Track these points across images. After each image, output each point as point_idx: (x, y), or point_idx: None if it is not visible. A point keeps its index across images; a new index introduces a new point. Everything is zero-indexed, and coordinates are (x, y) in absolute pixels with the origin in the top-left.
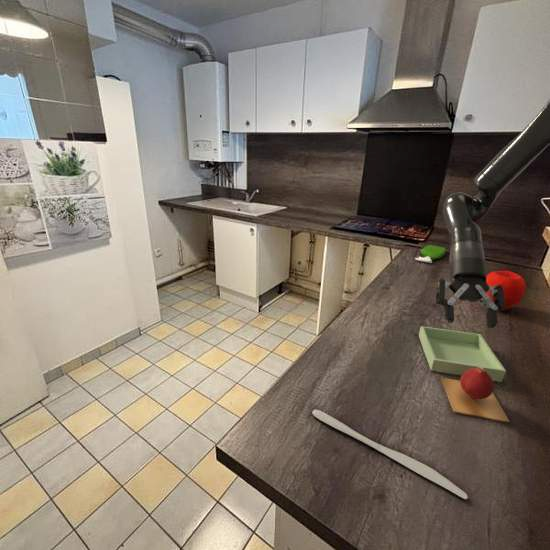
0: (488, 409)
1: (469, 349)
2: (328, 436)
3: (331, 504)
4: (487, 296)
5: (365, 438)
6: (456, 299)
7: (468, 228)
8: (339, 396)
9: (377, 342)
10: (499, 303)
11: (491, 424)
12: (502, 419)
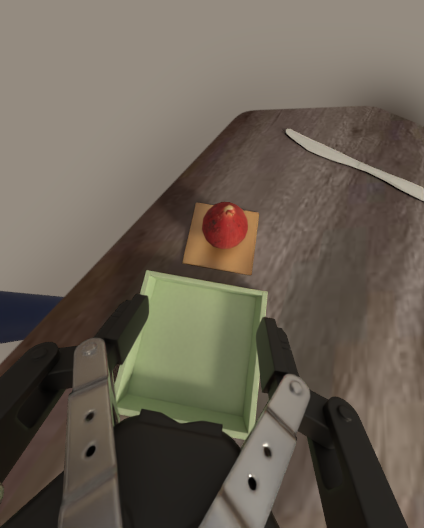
0: None
1: (154, 368)
2: (408, 176)
3: (394, 124)
4: (81, 415)
5: (372, 171)
6: (267, 408)
7: None
8: (405, 229)
9: (346, 379)
10: (42, 373)
11: (219, 201)
12: (203, 204)
